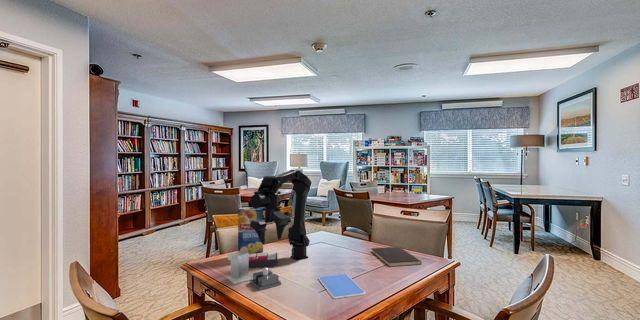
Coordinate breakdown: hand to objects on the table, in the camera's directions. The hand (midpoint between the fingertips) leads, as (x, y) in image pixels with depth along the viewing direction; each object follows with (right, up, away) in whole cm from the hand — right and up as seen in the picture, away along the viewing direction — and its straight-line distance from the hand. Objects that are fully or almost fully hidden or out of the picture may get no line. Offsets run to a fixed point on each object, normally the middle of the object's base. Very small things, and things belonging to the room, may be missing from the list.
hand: (271, 241), depth 134 cm
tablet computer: (+29, -14, -15) cm, 35 cm away
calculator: (-7, -14, +11) cm, 19 cm away
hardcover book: (+58, -14, +19) cm, 62 cm away
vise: (0, -13, -13) cm, 18 cm away
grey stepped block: (-12, -13, -9) cm, 20 cm away
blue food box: (-13, -13, +21) cm, 28 cm away
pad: (-12, -13, -8) cm, 19 cm away
